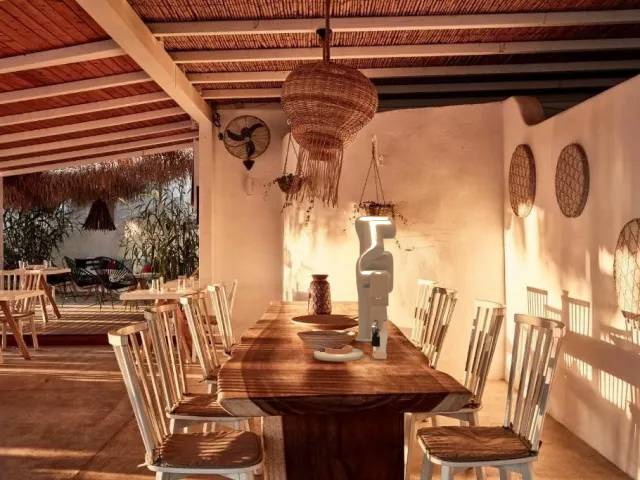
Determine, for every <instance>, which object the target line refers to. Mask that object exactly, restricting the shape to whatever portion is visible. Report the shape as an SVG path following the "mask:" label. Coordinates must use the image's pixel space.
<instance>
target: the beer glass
mask: <svg viewBox="0 0 640 480" xmlns="http://www.w3.org/2000/svg"><path fill="white" fill-rule="evenodd" d="M388 325H389V324H388V319H387V320H386V321H384V322H383V329H382V331H380V334H379V337H380V347H373V346H372V353H371V354H372V355H371V359H373V360H385V359H388V355H387V345H388V338H389V326H388ZM376 329H379V327H378V324H377V326H376ZM377 333H378V332H377ZM371 339H372V331H371Z"/></svg>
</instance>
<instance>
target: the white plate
mask: <svg viewBox="0 0 640 480" xmlns="http://www.w3.org/2000/svg"><path fill="white" fill-rule="evenodd" d="M345 345H346V346H344V347H343V348H342V349H332V348H325V347H324V348H325V352H320V351H316V350H317V349H316V350H314V351H313V357H314V359H317V360H318V361H325V362H353V361H354V362H355V361H357V360H362V359H363V358H364V351H363V350H362V349H359V348H355V347H353V346H352V345H350V344H345Z"/></svg>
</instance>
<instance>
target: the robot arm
mask: <svg viewBox="0 0 640 480" xmlns="http://www.w3.org/2000/svg"><path fill="white" fill-rule="evenodd" d="M354 228H355V232H356V235H357V239H358V241H359V256H358V258H357V260H356V263H355V280H356V282H355V284H356V290H357V291H356V292H357V302H358V307H357V308H358V309H357V311H358V312H357V313H358V314H357V315H358V316H357V317H358V320H357V321H358V328H357V329H358V331H357V332H358V334H357V335H358V336H355V337H356V338H355V337H354V339H355V340H354V341H356V342H363V343H371V347H372V348H373V347H380V337H379V334H380V331H382V329H383V322H384V321H386V320H387V321H388V308H387V307H389V306H390V305H389V304H390V303H389V301H390V299H389V295H390V293H392V292H393V289H394V268H395V267H394V256H393V254H392V252H390V251H388V250H385V241H384V240H386V239H389V240H392V239H395V238H396V236H397V225H396V223H395V220H394V218H392V217H391V216H389V215H362V216H357V217H356V218H355V220H354ZM377 324H378V327H379V329H376V326H377ZM371 331H372V339H371ZM377 332H378V333H377Z"/></svg>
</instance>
